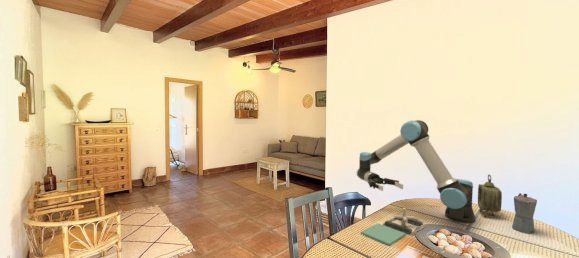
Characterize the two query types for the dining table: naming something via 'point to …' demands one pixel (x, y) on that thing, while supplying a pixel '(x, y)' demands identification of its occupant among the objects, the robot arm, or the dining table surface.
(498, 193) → the olive green lantern
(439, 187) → the robot arm
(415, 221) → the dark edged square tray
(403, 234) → the teal board
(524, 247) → the dining table surface
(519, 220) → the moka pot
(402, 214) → the pipe connector
